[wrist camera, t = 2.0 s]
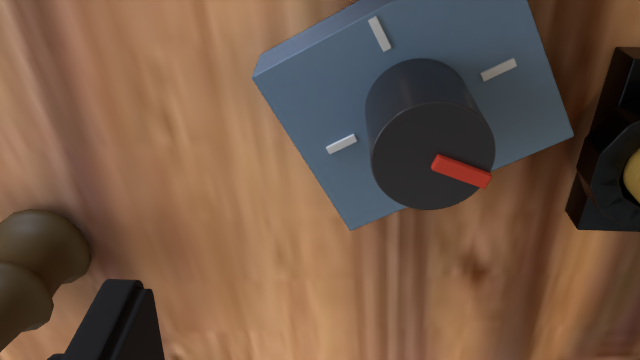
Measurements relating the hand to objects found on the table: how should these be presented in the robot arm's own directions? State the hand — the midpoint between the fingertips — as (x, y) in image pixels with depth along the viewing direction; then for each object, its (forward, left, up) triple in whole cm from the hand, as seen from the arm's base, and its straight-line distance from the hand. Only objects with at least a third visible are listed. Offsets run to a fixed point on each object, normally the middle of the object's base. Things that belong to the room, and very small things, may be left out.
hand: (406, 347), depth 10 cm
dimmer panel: (-1, +2, -17) cm, 18 cm away
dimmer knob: (-1, +2, -14) cm, 15 cm away
